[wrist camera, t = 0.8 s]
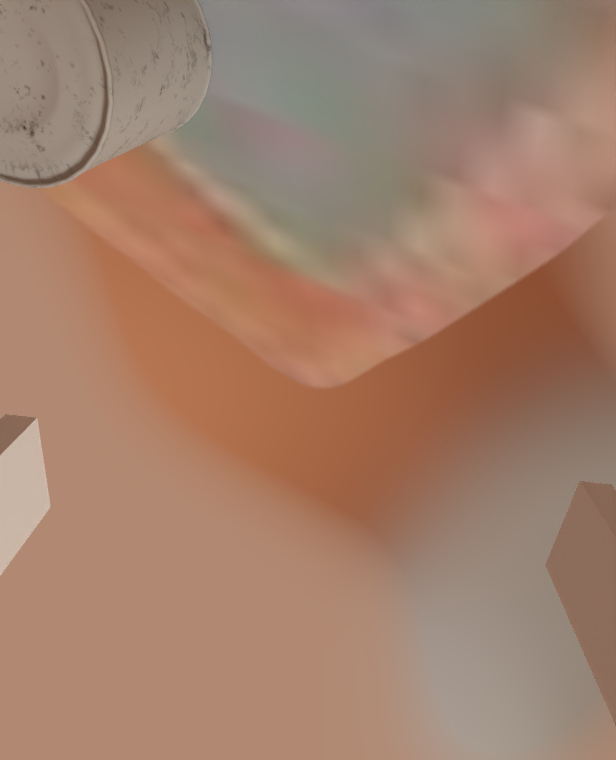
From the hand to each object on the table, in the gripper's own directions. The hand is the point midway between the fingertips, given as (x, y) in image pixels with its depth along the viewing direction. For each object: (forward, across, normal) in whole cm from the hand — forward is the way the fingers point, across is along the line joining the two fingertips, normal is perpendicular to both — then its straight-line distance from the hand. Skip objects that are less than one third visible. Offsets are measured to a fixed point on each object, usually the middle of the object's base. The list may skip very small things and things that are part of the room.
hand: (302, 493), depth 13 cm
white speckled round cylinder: (+26, -13, +10) cm, 31 cm away
